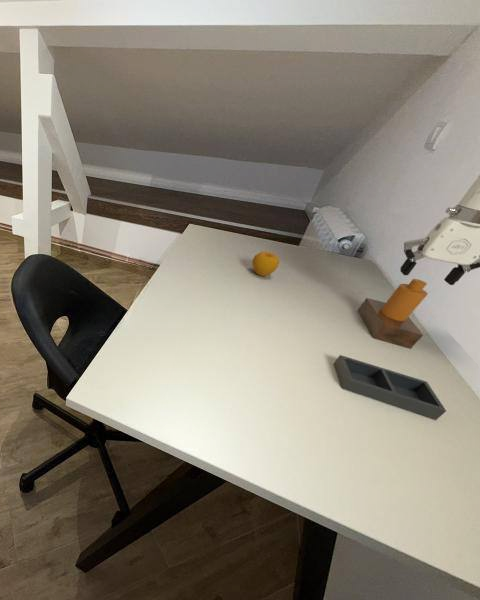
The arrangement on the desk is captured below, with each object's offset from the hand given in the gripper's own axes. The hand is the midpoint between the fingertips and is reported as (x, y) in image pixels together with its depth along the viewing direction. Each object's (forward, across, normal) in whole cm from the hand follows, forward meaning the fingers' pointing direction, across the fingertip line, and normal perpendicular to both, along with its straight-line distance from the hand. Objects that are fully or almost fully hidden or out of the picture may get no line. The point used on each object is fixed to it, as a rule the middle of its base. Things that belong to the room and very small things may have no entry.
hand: (425, 278), depth 84 cm
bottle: (+13, -1, 0) cm, 13 cm away
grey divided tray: (+18, -11, -33) cm, 39 cm away
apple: (+17, -35, +17) cm, 42 cm away
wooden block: (+18, -1, 0) cm, 18 cm away
